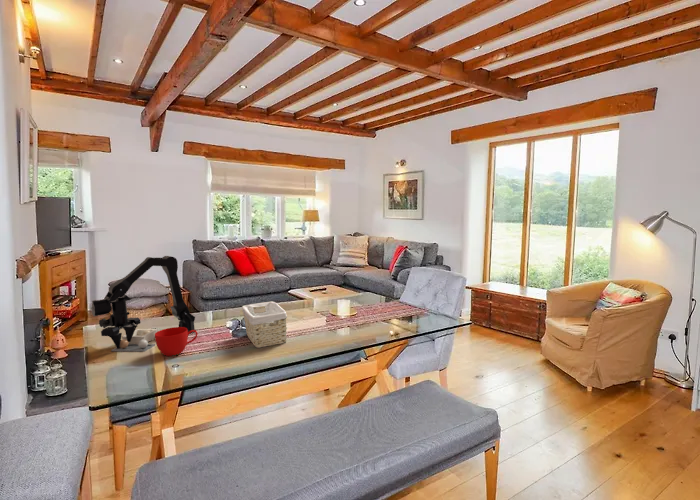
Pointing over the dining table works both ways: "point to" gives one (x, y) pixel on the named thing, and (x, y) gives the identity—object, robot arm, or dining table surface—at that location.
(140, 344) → the glossy white ball
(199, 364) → the dining table surface
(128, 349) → the slate tray
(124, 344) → the orange tan ball
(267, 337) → the storage basket
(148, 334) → the stoneware dish
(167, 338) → the ceramic cup
